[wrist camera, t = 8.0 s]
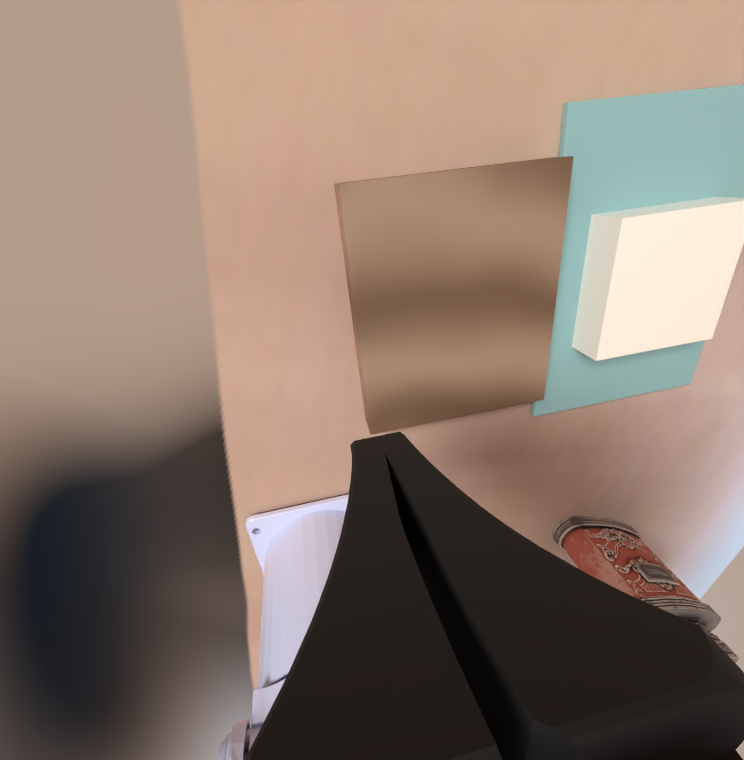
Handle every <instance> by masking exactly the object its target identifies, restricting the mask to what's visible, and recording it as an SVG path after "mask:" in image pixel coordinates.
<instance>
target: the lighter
mask: <svg viewBox="0 0 744 760" xmlns="http://www.w3.org/2000/svg"><path fill="white" fill-rule="evenodd" d="M553 538H554V539H555V541H556V542H557V544H558V545H559V546H560V548H562V549H563V550H566V551H567V553H568V554H569V555H570V557H571V558H572V559H573V561H574V562H575V563H576V564H577V566H578V567H579V568H580V570H581V571H583V572H585V573H587V574H589V575H591V576H593V577H595V578H597V579H599V580H601V581H603V582H605V583H607V584H609V585H610V586H612V587H614V588H616V589H618V590H620V591H622V592H625V593H627V594H629V595H631V596H633V597H635V598H638V599H640V600H642V601H644V602H647V603H649V604H651V605H653V606H656V607H658V608H660V609H662V610H665V611H667V612H669V613H671V614H674V615H676V616H678V617H680V618H683V619H685V620H687V621H690V622H692V623H694V624H696V625H699V626H700V627H701V628H702V629H703V630H704V631H705V632H706V633H707V634H708V635H709V636H710V637H711V638H712V639H713V640H714V641H715V642H716V643H717V644H718V645H719V646H720V647H721V648H722V649H723V650H724V651H725V652H726V653H727V654H728V656H729V657H730V658H731V659H732V660H733V661H734V662H735V663H736V662H737V661H738V659H739V658H738V657H737V655H736V654H735V653H733V651H732V650H731V649H730V648H729V647H728V646H727V645H726V644H725V643H724V642H723V641H721V640H720V639H719V638H718V637H717V636H716V635H714V634H712V633H711V631H712V630H713V629H714V628H715V627H716V626H717V625H718V624H719V622H720V619H721V618H720V616H719V615H718V614H717V613H715V611H714V610H713V609H712V608H711V607H710V606H709V605H707V604H705V603H702V602H701V601H700V600H699V599H698V598H697V597H696V596H695V595H694V594H693V593H692V592H691V591H690V590H689V589H688V588H687V587H686V586H685V585H684V584H683V583H682V582H681V581H680V580H679V579H678V578H677V577H676V576H675V575H674V574H673V573H672V572H671V571H670V570H669V569H668V568H667V567H666V566H665V565H664V564H663V563H662V562H661V561H660V560H659V558H658V557H657V556H656V555H655V554H654V553H653V552H652V551H651V550H650V549H649V548H648V547H647V546H646V545H645V544H644V543H643V542H642V541H641V537H640V536H639V535H638V534H637V533H636V532H635V531H634V530H633V529H632V528H631V527H630V526H628V525H626V524H624V523H622V522H619V521H616V520H612V519H609V518H603V517H594V516H573V517H569V518H566V519H564V520H563V521H562V522H560V523H559V524H558V525H557V526H556V528H555V530H554V532H553Z"/></svg>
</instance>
